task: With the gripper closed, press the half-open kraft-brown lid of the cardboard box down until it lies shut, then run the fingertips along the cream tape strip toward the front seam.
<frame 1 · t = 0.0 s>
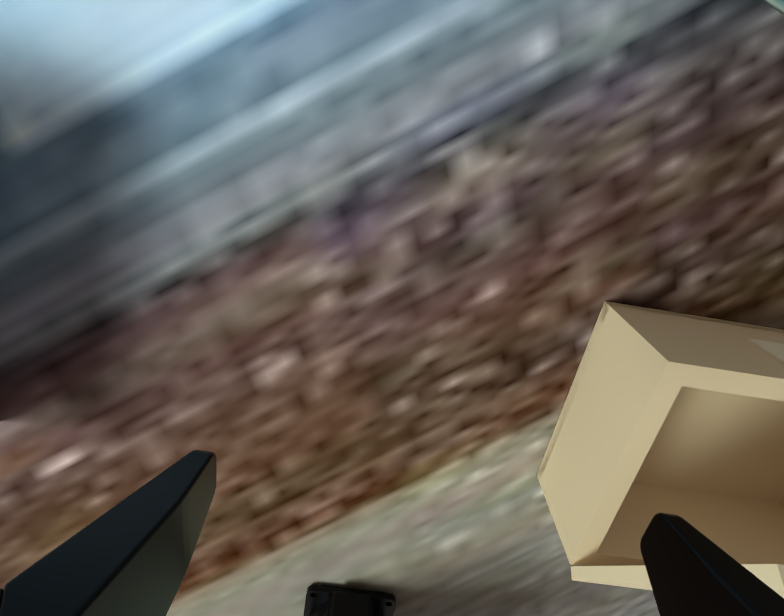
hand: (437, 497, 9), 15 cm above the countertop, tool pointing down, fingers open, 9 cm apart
cardboard box: (700, 415, 26), on the countertop
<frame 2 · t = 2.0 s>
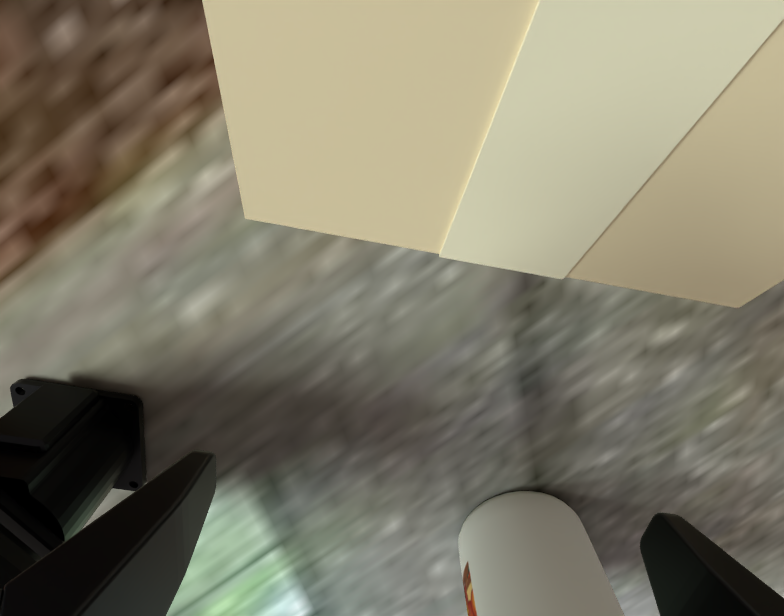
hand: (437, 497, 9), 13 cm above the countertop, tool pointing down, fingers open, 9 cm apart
milk bottle: (517, 529, 28), on the countertop
lid: (606, 82, 9), point 10 cm above the countertop, hinge at 35.0°
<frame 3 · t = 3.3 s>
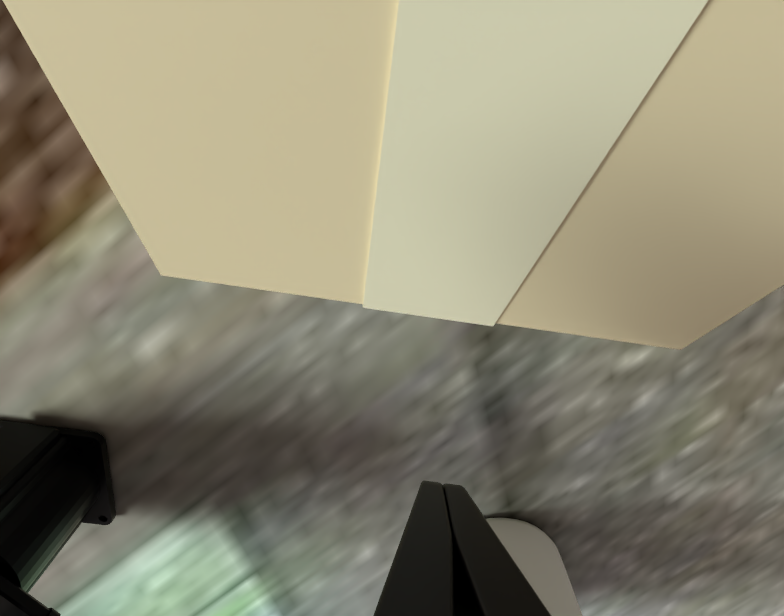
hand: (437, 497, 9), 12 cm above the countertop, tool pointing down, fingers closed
milk bottle: (493, 554, 28), on the countertop
lid: (487, 148, 9), point 10 cm above the countertop, hinge at 35.0°
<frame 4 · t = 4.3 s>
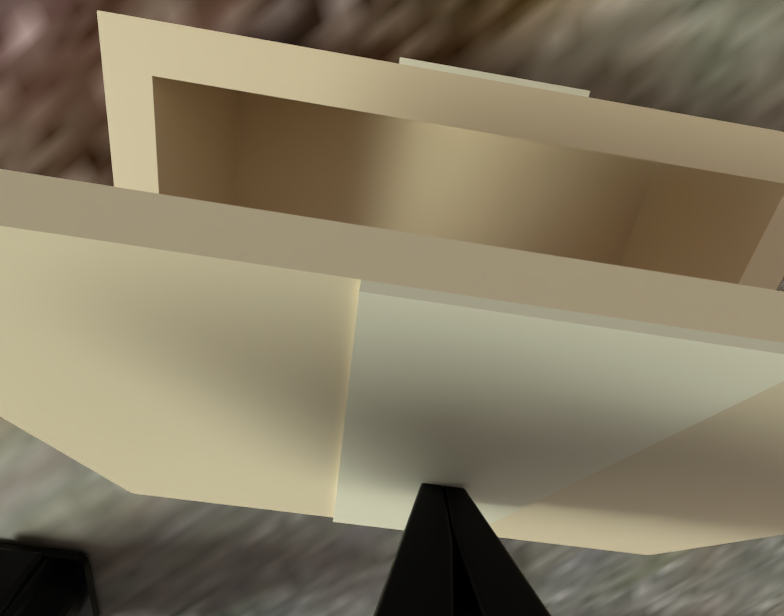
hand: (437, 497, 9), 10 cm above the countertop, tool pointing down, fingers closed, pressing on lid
cardboard box: (424, 262, 17), on the countertop
lid: (441, 467, 9), point 10 cm above the countertop, hinge at 31.6°, touching gripper
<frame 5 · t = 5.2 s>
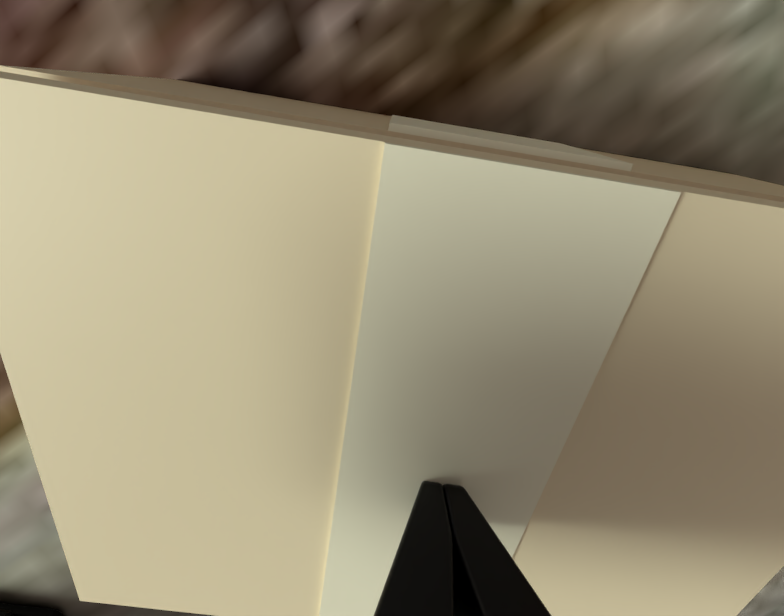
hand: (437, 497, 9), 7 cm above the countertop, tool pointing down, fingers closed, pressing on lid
cardboard box: (424, 316, 15), on the countertop
lid: (440, 466, 9), point 7 cm above the countertop, hinge at 3.2°, touching gripper
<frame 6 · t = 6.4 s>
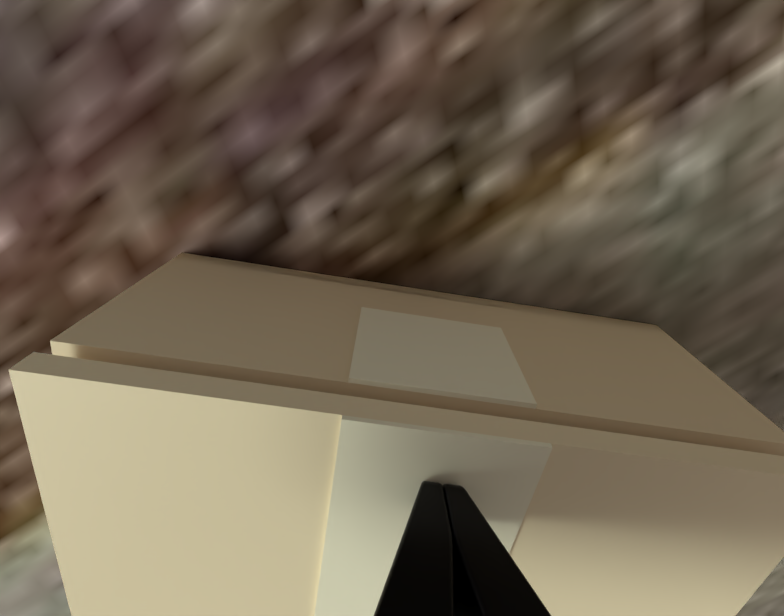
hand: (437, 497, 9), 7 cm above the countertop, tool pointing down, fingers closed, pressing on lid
cardboard box: (396, 432, 17), on the countertop
lid: (396, 607, 11), point 7 cm above the countertop, hinge at 1.7°, touching gripper
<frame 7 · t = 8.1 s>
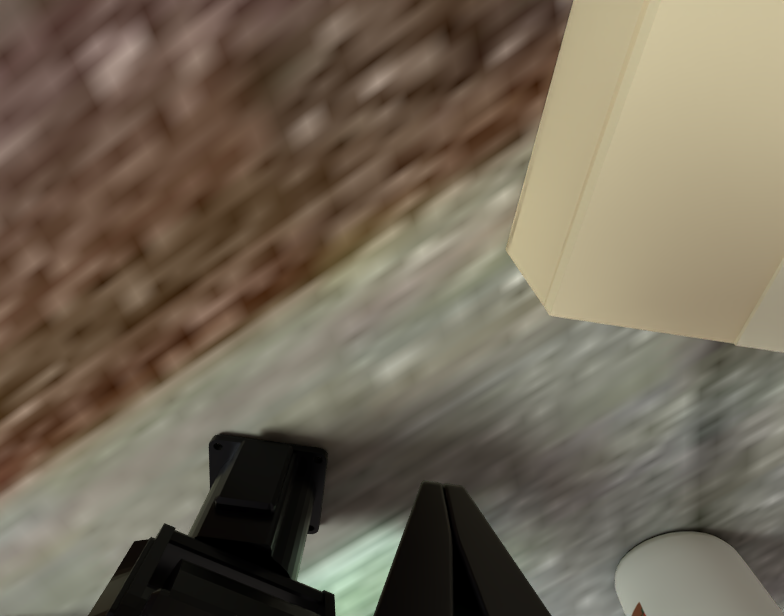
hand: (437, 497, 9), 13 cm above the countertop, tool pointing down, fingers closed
cardboard box: (740, 137, 18), on the countertop
milk bottle: (670, 565, 29), on the countertop
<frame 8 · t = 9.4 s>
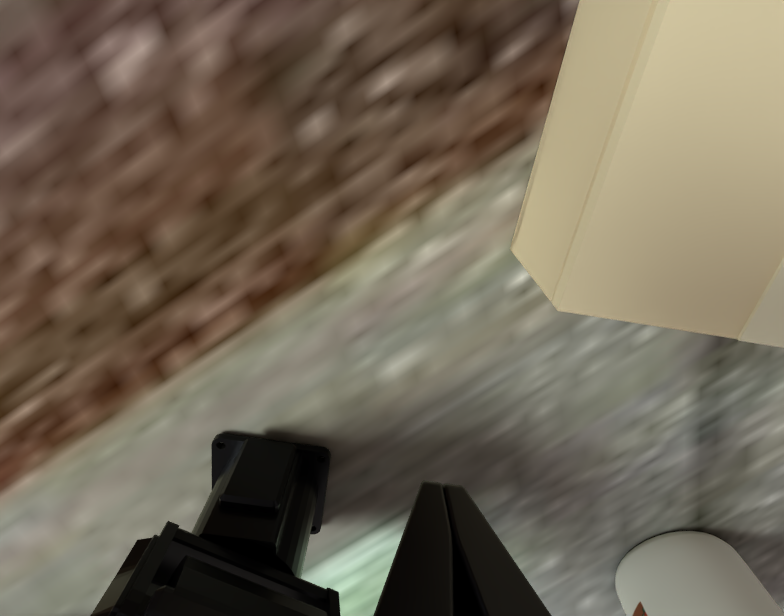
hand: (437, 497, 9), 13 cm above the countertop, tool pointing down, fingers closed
cardboard box: (740, 140, 18), on the countertop
milk bottle: (670, 565, 29), on the countertop
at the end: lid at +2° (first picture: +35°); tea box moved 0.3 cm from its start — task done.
